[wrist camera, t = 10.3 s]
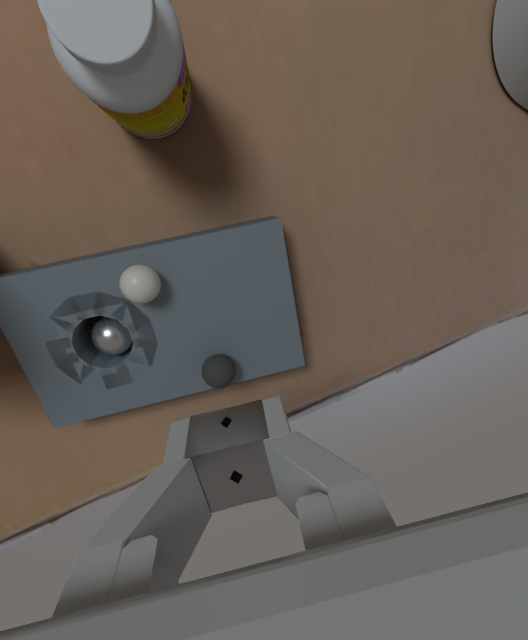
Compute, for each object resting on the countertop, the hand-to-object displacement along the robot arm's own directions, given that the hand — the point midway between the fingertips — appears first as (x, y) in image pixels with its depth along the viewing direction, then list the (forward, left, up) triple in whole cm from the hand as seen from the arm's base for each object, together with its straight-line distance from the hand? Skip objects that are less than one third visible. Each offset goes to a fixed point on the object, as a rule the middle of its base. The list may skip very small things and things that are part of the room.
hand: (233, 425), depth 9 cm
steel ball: (+11, +4, -22) cm, 25 cm away
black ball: (+2, +8, -19) cm, 20 cm away
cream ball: (+6, -1, -19) cm, 19 cm away
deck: (+6, +4, -24) cm, 25 cm away
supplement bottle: (+2, -14, -24) cm, 28 cm away
